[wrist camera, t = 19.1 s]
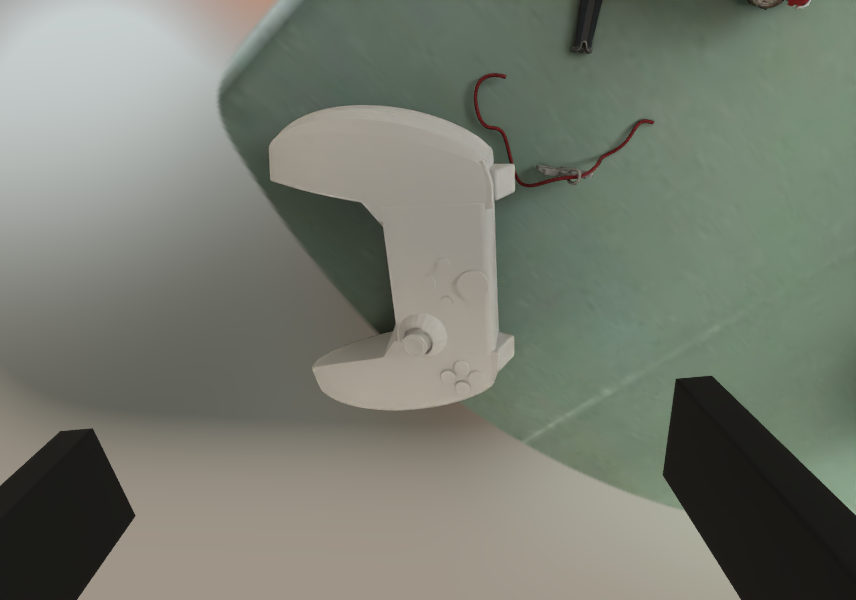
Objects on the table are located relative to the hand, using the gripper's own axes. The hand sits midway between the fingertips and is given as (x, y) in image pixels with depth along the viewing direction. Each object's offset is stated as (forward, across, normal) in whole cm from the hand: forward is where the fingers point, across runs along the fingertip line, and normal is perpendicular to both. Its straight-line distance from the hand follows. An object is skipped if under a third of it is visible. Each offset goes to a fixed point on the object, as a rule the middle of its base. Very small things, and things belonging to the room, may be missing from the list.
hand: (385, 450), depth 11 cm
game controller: (+13, -5, 0) cm, 14 cm away
